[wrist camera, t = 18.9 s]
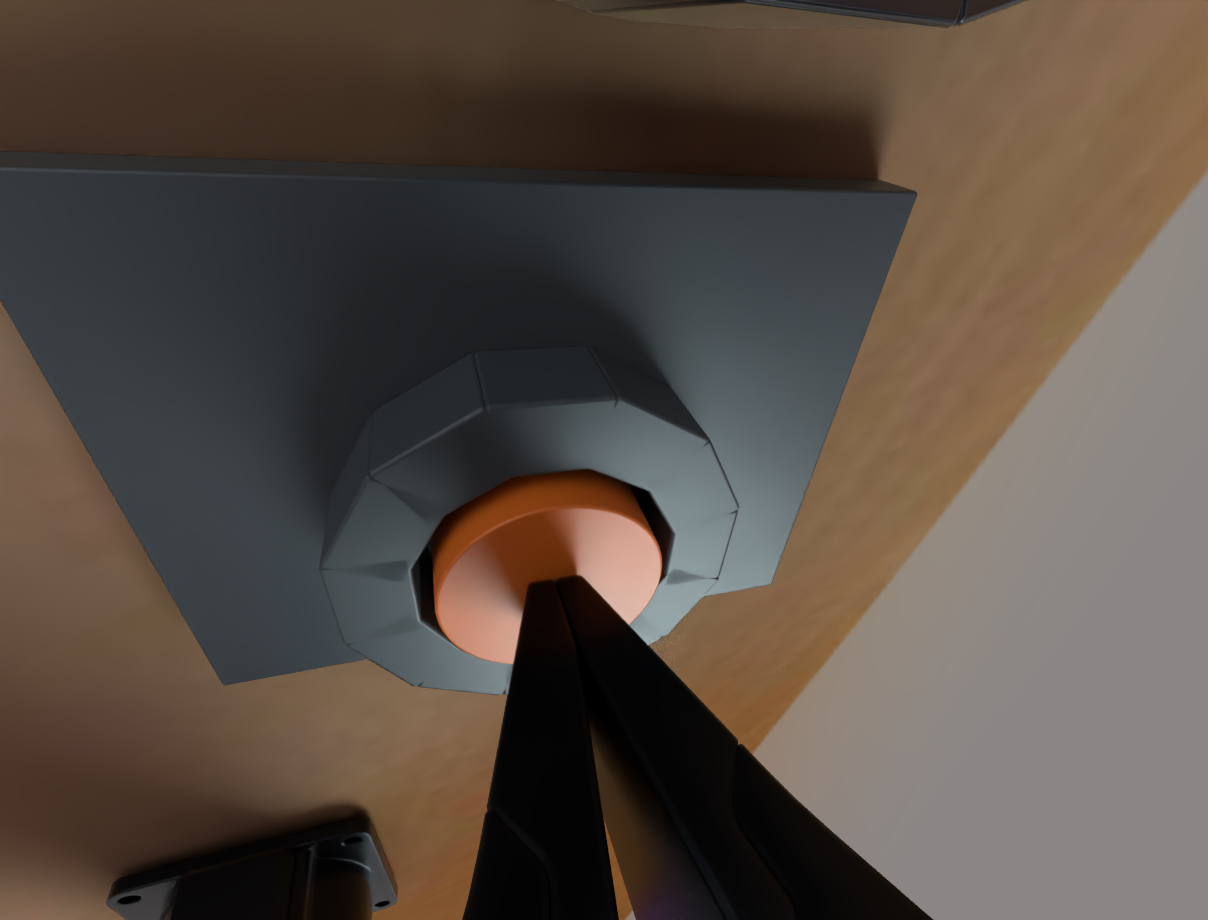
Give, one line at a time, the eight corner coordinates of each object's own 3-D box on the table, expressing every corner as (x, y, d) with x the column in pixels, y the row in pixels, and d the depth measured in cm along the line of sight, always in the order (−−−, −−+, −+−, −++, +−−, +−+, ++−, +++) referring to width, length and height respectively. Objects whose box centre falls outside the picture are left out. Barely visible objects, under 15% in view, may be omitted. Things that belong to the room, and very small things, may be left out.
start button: (620, 572, 12) (649, 642, 10) (441, 601, 11) (446, 683, 9) (640, 426, 9) (678, 491, 8) (417, 447, 9) (420, 525, 7)
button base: (754, 558, 15) (807, 638, 13) (233, 647, 11) (199, 771, 10) (881, 179, 9) (1005, 218, 7) (-27, 149, 6) (-221, 204, 4)
